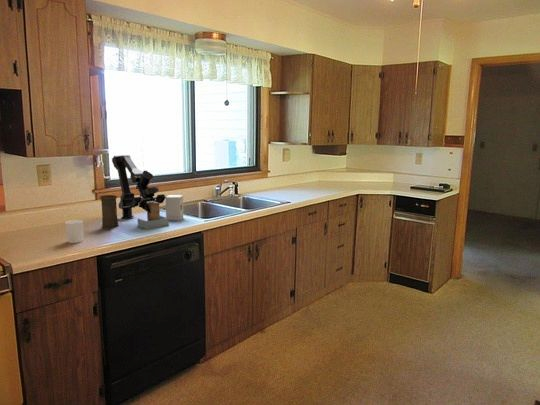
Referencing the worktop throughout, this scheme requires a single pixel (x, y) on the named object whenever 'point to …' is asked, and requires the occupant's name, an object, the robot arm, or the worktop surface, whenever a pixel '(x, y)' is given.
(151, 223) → the open box
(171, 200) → the supplement box
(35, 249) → the worktop surface
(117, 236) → the worktop surface
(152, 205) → the walnut block
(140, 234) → the worktop surface
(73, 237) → the white cup
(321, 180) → the worktop surface
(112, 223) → the container
